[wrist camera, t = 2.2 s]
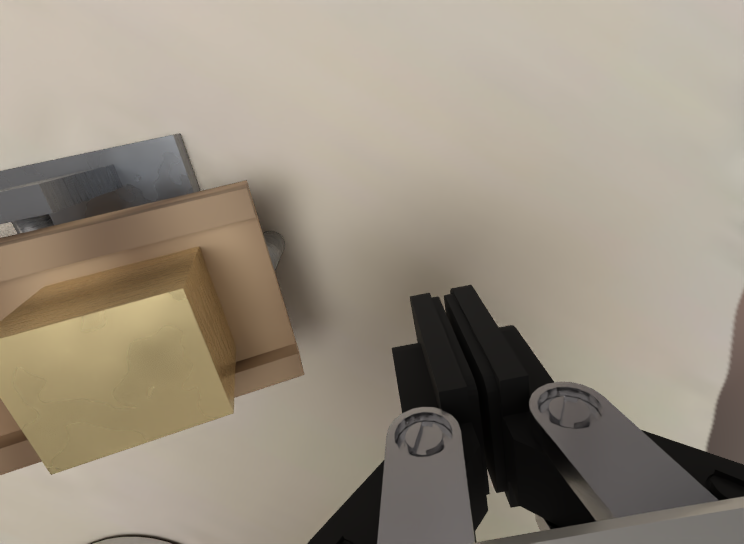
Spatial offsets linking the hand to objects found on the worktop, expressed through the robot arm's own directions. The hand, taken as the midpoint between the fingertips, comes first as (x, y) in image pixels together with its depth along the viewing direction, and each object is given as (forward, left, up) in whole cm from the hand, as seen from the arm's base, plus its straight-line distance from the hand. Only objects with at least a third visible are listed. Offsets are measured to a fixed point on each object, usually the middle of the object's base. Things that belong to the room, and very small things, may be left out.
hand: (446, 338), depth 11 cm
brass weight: (0, +12, -7) cm, 13 cm away
